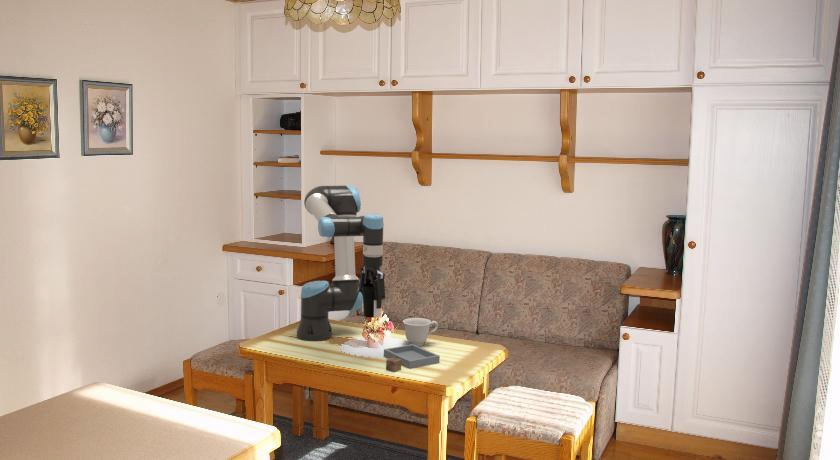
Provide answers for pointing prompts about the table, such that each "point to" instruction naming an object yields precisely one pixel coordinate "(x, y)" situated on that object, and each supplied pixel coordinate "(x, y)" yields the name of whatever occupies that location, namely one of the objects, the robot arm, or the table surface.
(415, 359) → the tray
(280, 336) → the table surface
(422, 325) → the teacup
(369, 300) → the cup
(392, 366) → the walnut block
